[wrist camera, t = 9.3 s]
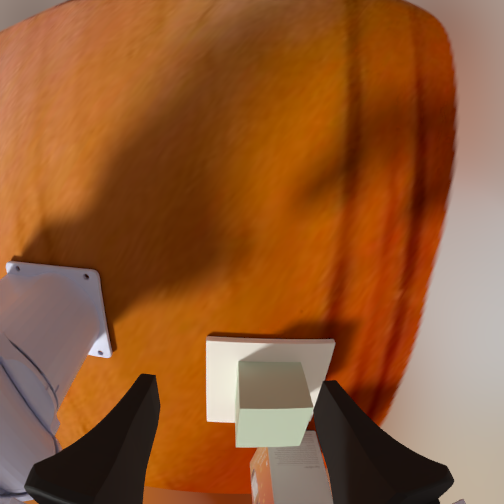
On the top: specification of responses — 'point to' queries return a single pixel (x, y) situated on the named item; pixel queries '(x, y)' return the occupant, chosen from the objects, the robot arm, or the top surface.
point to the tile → (258, 350)
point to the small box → (290, 474)
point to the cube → (271, 404)
